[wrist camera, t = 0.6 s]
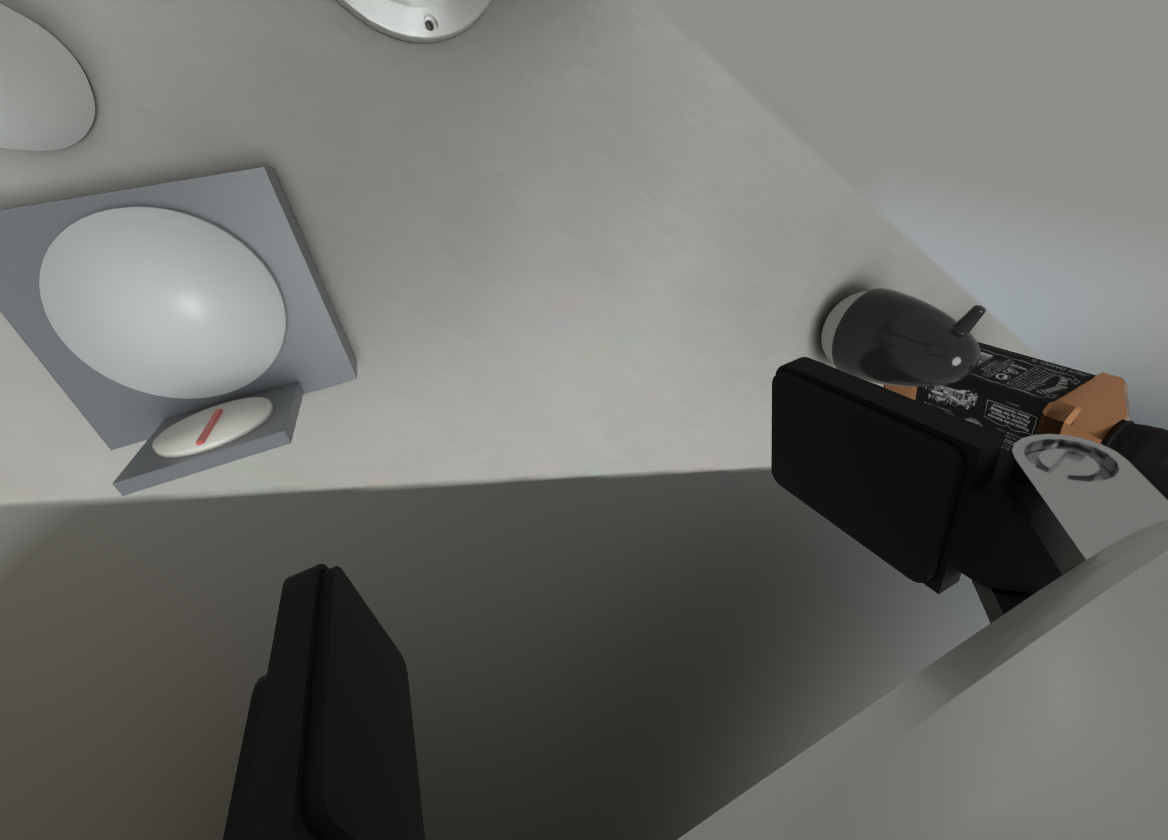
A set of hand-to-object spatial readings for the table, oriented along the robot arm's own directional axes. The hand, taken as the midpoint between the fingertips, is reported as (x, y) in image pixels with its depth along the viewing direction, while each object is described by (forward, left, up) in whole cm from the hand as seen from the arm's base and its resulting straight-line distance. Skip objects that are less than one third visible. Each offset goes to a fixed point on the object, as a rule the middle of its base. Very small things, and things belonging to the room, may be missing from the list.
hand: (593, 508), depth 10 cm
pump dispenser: (+17, +45, -33) cm, 58 cm away
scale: (-1, -14, -33) cm, 36 cm away
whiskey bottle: (+28, +60, -33) cm, 74 cm away
